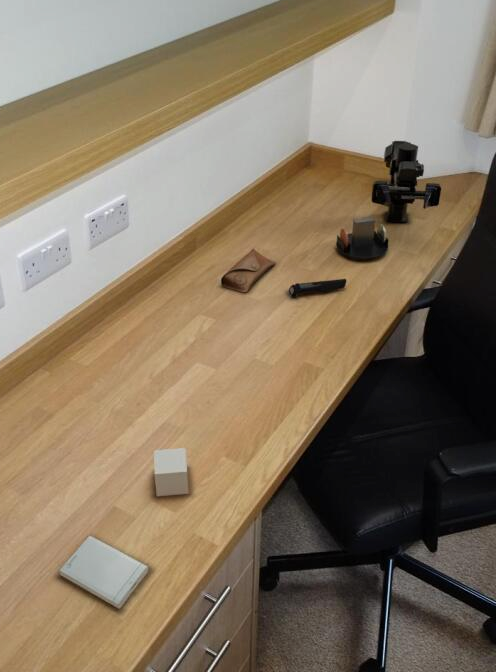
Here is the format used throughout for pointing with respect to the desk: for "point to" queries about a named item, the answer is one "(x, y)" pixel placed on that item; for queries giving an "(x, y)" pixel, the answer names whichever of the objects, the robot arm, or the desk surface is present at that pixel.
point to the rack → (363, 240)
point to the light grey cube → (170, 472)
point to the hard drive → (104, 571)
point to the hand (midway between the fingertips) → (407, 206)
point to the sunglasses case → (246, 271)
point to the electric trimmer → (316, 287)
